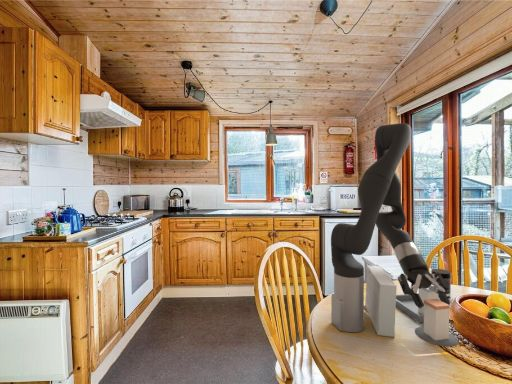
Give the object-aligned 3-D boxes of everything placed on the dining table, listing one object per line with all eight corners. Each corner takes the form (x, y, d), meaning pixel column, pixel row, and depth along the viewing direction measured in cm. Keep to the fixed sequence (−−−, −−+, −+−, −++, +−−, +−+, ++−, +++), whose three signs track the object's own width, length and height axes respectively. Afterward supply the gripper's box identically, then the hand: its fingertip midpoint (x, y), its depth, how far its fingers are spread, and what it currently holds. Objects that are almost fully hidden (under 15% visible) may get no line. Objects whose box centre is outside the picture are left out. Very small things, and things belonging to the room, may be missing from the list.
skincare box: (396, 338, 84) (397, 285, 84) (377, 336, 85) (377, 284, 85) (380, 307, 105) (380, 265, 104) (364, 306, 106) (365, 264, 105)
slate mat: (435, 350, 78) (435, 348, 78) (406, 329, 89) (406, 328, 89) (468, 345, 80) (468, 343, 80) (436, 325, 91) (436, 324, 91)
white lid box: (439, 317, 96) (440, 288, 95) (427, 318, 95) (427, 289, 95) (429, 311, 100) (430, 283, 100) (417, 312, 100) (418, 284, 99)
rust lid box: (449, 338, 82) (449, 305, 82) (435, 340, 82) (436, 306, 81) (436, 330, 87) (436, 298, 87) (423, 332, 86) (423, 300, 86)
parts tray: (457, 321, 94) (457, 313, 94) (419, 323, 92) (419, 316, 92) (420, 299, 111) (420, 293, 111) (388, 301, 110) (388, 295, 110)
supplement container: (438, 292, 119) (439, 268, 118) (454, 298, 112) (455, 272, 112) (426, 294, 116) (427, 269, 116) (442, 300, 110) (442, 274, 110)
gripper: (395, 253, 92) (419, 302, 81) (435, 252, 94) (463, 300, 83) (385, 265, 97) (406, 312, 86) (423, 263, 99) (448, 310, 88)
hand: (434, 306), depth 85 cm, fingers open, 8 cm apart
